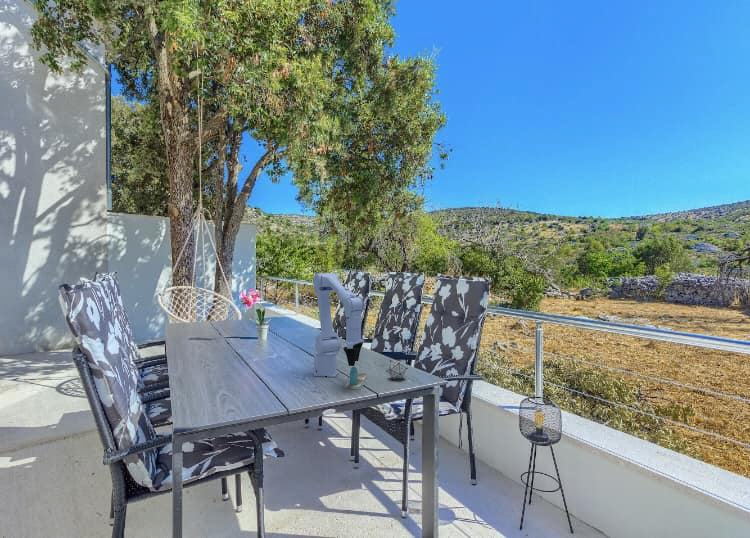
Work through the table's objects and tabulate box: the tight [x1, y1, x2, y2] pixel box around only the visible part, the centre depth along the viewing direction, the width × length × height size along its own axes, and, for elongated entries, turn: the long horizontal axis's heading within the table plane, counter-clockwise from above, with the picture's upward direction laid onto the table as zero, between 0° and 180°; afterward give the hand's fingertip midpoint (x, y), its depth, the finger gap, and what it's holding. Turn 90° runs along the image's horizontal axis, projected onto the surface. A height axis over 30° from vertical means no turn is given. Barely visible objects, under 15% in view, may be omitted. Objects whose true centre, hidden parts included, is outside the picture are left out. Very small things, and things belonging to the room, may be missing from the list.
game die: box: [385, 358, 409, 381], centre depth 166 cm, size 9×8×10 cm
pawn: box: [349, 366, 358, 385], centre depth 155 cm, size 3×3×7 cm
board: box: [344, 372, 369, 390], centre depth 162 cm, size 6×18×1 cm, turn 172°
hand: (353, 363), depth 155 cm, fingers open, 7 cm apart
